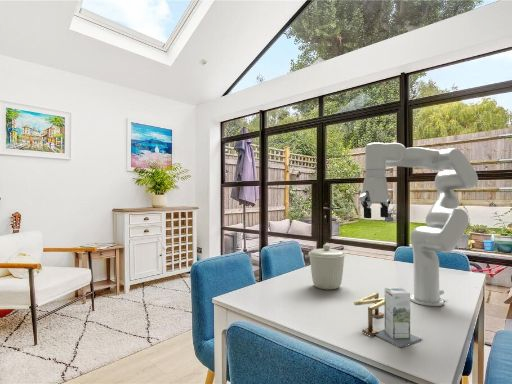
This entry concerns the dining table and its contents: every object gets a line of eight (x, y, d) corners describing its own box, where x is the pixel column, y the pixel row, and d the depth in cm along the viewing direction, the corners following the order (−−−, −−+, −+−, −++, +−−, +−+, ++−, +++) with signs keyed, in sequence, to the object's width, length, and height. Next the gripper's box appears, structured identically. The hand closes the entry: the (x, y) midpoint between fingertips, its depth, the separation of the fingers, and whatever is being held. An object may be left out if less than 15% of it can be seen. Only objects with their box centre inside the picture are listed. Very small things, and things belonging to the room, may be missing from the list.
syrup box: (401, 331, 101) (400, 286, 101) (411, 339, 95) (410, 292, 95) (384, 331, 100) (383, 287, 101) (393, 339, 95) (392, 292, 95)
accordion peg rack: (376, 313, 117) (375, 290, 117) (406, 325, 106) (405, 300, 106) (342, 322, 109) (342, 298, 109) (371, 337, 98) (370, 310, 98)
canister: (303, 289, 148) (303, 245, 148) (314, 280, 164) (314, 240, 164) (341, 294, 139) (341, 248, 140) (349, 284, 155) (348, 242, 156)
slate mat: (393, 328, 104) (393, 326, 104) (421, 340, 95) (421, 338, 95) (373, 334, 99) (373, 333, 99) (400, 348, 91) (400, 346, 91)
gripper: (382, 175, 129) (382, 216, 129) (352, 174, 120) (353, 218, 120) (398, 174, 122) (398, 217, 122) (368, 173, 114) (368, 219, 114)
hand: (376, 217), depth 121 cm, fingers open, 9 cm apart
